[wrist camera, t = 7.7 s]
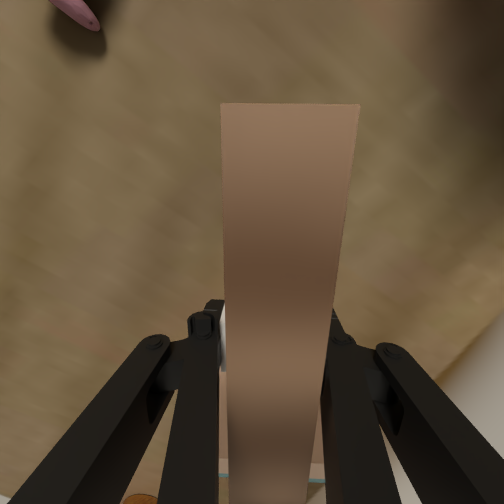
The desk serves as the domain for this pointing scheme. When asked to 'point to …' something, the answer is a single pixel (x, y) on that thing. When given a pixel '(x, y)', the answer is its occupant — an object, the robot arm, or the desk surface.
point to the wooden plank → (280, 284)
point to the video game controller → (78, 12)
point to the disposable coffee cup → (140, 499)
